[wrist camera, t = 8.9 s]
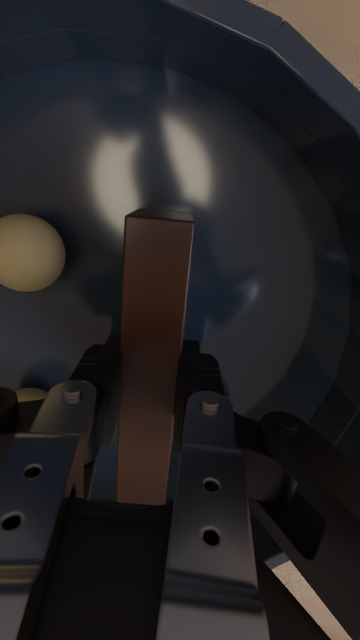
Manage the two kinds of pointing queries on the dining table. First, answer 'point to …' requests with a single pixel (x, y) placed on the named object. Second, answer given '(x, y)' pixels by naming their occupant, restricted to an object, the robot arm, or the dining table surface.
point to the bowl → (188, 200)
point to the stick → (151, 348)
